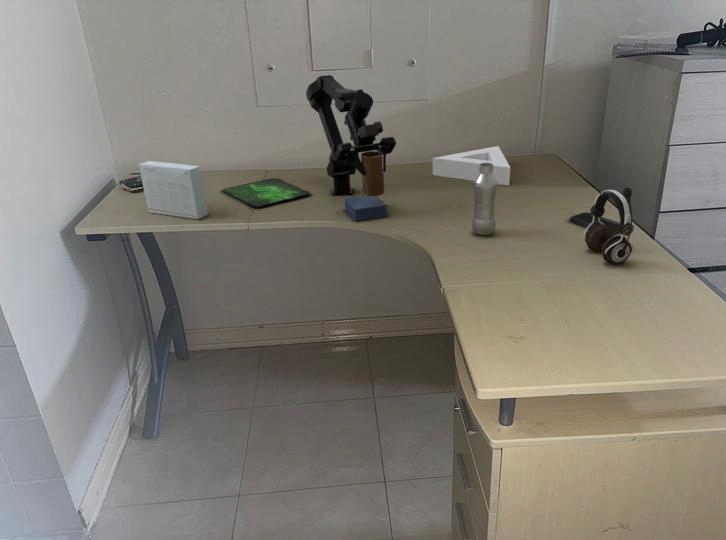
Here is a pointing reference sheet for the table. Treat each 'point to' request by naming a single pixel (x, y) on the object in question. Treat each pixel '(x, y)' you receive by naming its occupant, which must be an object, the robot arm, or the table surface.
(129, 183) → the disk drive
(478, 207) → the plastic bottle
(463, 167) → the triangle block
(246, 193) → the mouse mat
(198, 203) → the skincare box
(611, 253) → the headset
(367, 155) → the brown wooden cylinder
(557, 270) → the table surface
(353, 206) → the box
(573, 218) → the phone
